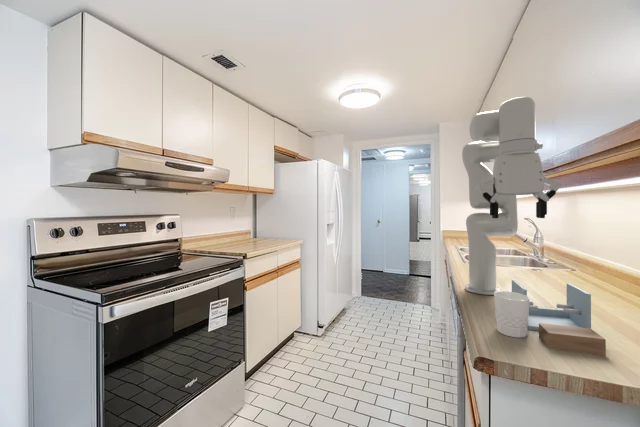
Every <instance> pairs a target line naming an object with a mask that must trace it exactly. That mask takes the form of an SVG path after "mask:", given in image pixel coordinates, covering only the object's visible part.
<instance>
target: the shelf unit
mask: <svg viewBox="0 0 640 427" xmlns="http://www.w3.org/2000/svg"><path fill="white" fill-rule="evenodd" d="M511 292H515V293H520V294H523V295H526V296H528V289H527V288H525V286H523V285H522V284H520V283H519V282H518V281H517V280H515V279H511ZM539 323H543V324H552V325H562V326H572V327H581V328H591V329H592V294H591V293H589V292H588V291H585V290H583V289H582V288H580V287H578V286H576V285H574V284H572V283H569V282H566V304H565V303H564V304H563V303H556V308H548V307H538V305H534V302H533V301H531V300H529V318H528V326H527V330H528V331H529V330H531V331H538V332H539Z"/></svg>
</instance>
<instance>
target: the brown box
mask: <svg viewBox="0 0 640 427" xmlns="http://www.w3.org/2000/svg"><path fill="white" fill-rule="evenodd" d="M538 338H539V339H540V340H541V341H542V343H543V344H544V345H545V346H546V348H548V349H551V350H558V351H560V350H561V351H565V352H567V351H568V352H575V353H583V354H588V355H589V354H591V355H599V356H604V355H605V356H607V354H606V353H607V347H606V346H607V344H606V342H607V341H606V339H607V338H605V337H604V336H602V335H601V334H599V333H598V332H596V331H594V330H593V329H592V327H591V328H581V327H572V326H562V325H552V324H543V323H539V331H538ZM605 356H604V357H605Z"/></svg>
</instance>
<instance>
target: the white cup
mask: <svg viewBox="0 0 640 427" xmlns="http://www.w3.org/2000/svg"><path fill="white" fill-rule="evenodd" d="M493 297H494V298H493V300H494V302H493V303H494V315H495V321H496V322H495V323H496V330H497V332H499V333H500V334H502V335H504V336H506V337H507V336H508V337H510V338H511V337H512V338H517V339H518V338H519V339H520V338H526V337H527V336H528V329H527V326H528V318H529V301H530V299H531V298H530V297H529V296H528V295H527V296H526V295H523V294H520V293H515V292H512V291H508V290H506V291H503V290H501V291H499V292H495V293H494V295H493Z"/></svg>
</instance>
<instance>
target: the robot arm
mask: <svg viewBox="0 0 640 427" xmlns="http://www.w3.org/2000/svg"><path fill="white" fill-rule="evenodd" d="M536 127H537V126H536V101H535V100H534V98H532V97H530V96H520V97H518V96H517V97H515V98H514V97H513V98H511V99H508V100H506V101H504V102H502V103H501V104H500V106H499V107H498V110H491V111H484V112H479V113H476V114H475V115H473V116H472V118H471V120H470V124H469V135H470V138H471V139H472V141H473V142H469V143H466V144H465V145H464V146H463V147H462V152H461V156H462V157H461V158H462V163H463V165H464V168H465V171H466V172H467V176H468V191H469V192H468V195H469V196H468V197H469V205H470V206H471V208H472V209H474V210H489V212H474V213H470V214H469V215H468V216H467V217H466V220H465V226H466V231H467V237H468V282H469V283H467V284H465V286H464V289H465V290H466V291H467V292H471V293H473V294H477V295H484V296H485V295H486V296H494V293H495V292H499V291H502V290H501V288H499V287H498V286H497V249H496V246H495V244H494V243H493V242H492V241H491V239H489V237H494V238H495V237H499V238H500V237H507V238H508V237H514V236H515V235H516V234H517V233H518V232H517V231H518V229H519V228H518V227H519V226H518V224H519V222H518V207H517V206H518V205H517V204H518V202H517V196H527V195H528V196H529V195H533V197H535V199H536V200H537V202H535V206H536V207H535V210H536V211H535V213H536V214H535V217H536V218H537V219H545V218H546V216H547V214H548V202H549V201H550V199H551V198H553V197H554V196H555V195H556V194H557V192H558V190H559V189H560V187H561V185H562V184H561V182H559V181H557V180H553V179H550V178H548V177H545V176H544V170H543V169H544V168H543V165H542V161H541V156H540V153H539V152H537V151H538V150H541V149H543V147H544V146H543V145H544V144H543V143H542V142H541V143H539V142H538V140H536V139H537V138H536V136H537V135H536V134H537V133H536V132H537V131H536ZM484 163H493V169H492V171H491V170H490V168H488V167H487V166H486V165H485V164H484ZM545 185H547V186H549V189H548V190H547V191H546V192H544V190H545V189H544V188H545ZM499 211H501V212H499Z"/></svg>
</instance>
